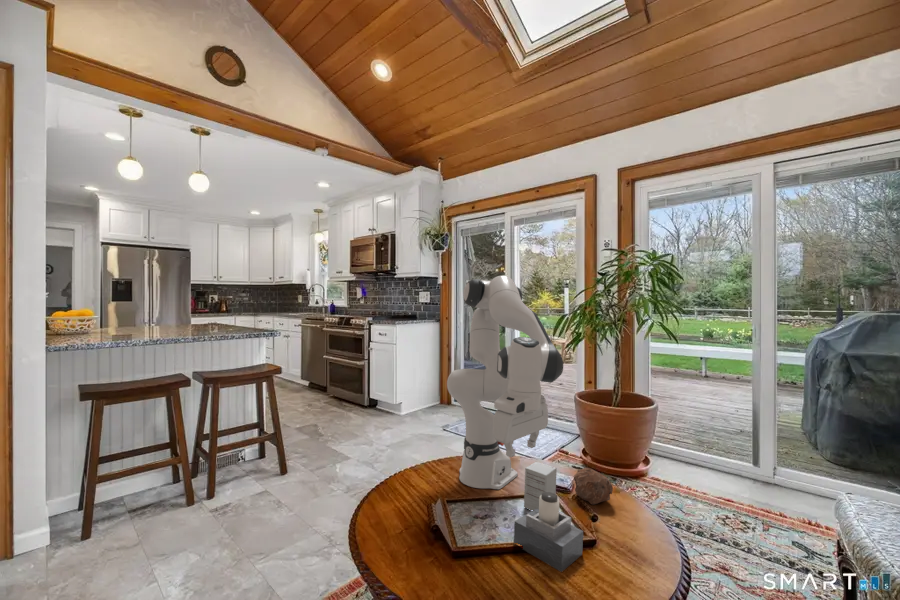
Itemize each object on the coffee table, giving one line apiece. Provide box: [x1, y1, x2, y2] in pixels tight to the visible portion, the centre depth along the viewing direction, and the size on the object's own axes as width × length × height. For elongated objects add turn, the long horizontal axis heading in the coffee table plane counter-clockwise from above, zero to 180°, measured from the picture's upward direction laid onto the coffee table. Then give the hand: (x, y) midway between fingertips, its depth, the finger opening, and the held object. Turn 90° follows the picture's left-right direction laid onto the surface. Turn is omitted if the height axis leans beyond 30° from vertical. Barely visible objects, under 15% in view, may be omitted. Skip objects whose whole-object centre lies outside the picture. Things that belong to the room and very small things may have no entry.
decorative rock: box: [573, 467, 614, 505], centre depth 129 cm, size 13×11×10 cm
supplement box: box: [523, 461, 557, 510], centre depth 122 cm, size 7×7×13 cm
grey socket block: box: [513, 509, 584, 573], centre depth 103 cm, size 13×14×8 cm
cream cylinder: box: [539, 492, 560, 526], centre depth 102 cm, size 5×5×8 cm
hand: (521, 451), depth 105 cm, fingers open, 8 cm apart
